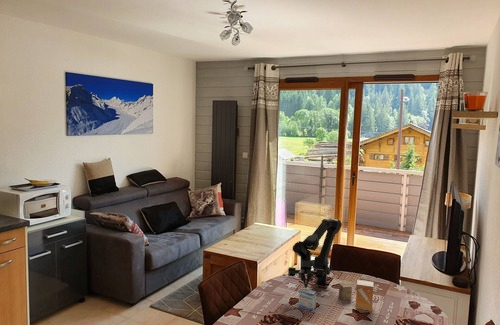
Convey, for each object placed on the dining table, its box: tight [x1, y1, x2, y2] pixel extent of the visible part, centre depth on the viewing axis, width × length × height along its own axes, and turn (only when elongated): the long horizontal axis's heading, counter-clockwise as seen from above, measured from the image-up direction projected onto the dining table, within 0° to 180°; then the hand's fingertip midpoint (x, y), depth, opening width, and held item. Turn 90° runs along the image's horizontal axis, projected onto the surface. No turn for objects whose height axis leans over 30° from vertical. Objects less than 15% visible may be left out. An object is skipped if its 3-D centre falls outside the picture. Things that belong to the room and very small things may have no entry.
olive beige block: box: [338, 282, 353, 301], centre depth 210 cm, size 5×5×7 cm
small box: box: [355, 279, 375, 312], centre depth 199 cm, size 8×6×13 cm
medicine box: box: [298, 287, 317, 311], centre depth 198 cm, size 8×4×9 cm, turn 62°
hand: (305, 288), depth 203 cm, fingers closed
